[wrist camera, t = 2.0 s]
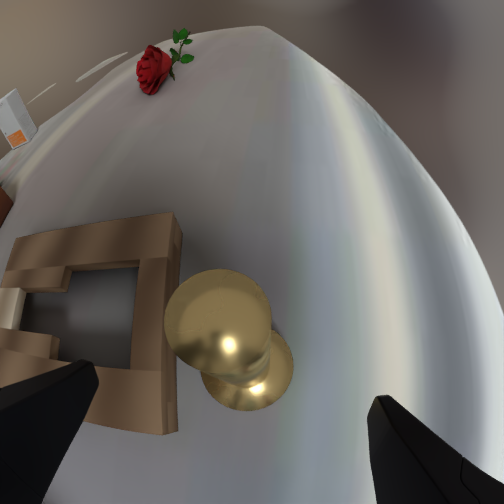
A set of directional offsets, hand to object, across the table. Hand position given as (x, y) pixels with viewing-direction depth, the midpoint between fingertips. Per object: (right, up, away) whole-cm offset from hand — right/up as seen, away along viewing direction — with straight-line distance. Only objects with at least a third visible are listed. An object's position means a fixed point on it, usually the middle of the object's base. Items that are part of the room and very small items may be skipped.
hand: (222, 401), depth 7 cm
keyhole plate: (-13, -1, +11) cm, 17 cm away
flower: (-15, +41, +37) cm, 57 cm away
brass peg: (+1, -3, +9) cm, 10 cm away
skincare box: (-46, +27, +31) cm, 62 cm away
